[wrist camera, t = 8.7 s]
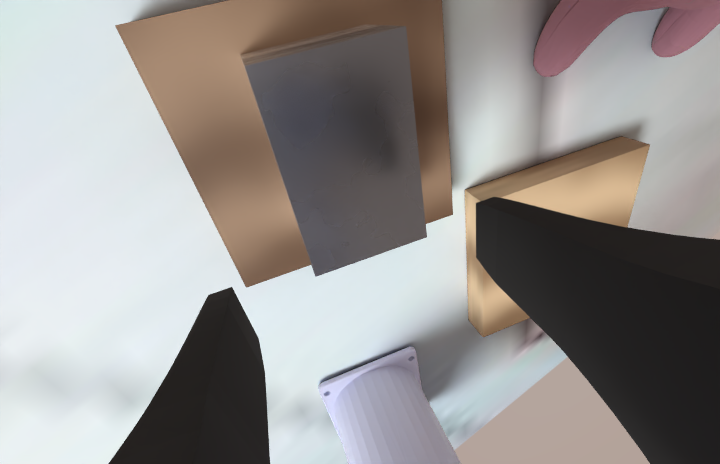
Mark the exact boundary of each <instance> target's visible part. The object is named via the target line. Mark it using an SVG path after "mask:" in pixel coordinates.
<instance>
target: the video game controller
mask: <svg viewBox="0 0 720 464" xmlns="http://www.w3.org/2000/svg"><path fill="white" fill-rule="evenodd" d="M663 7H670V8H669V9H668V11H667V12H666V14H665V15H664V17H663V18H662V20H661V22H660V24H659V26H658V28H657V30H656V32H655V34H654V37H653V40H652V50H653V52H654V53H655V54H656V55H657V56H660V57H672V56H675V55H678V54H680V53H682V52H684V51H686V50H688V49H689V48H691V47H692V46H694V45H695V44H696V43H698V42H699V41H700V40H701V39H702V38H704V37H705V36H706V35H707V34H708V33H709V32H710V31H711V30H712V29H714V28H715V27H716V26H717V25H718V24H719V23H720V0H561V1H560V3H559V4H558V5H557V7H556V8H555V10H554V11H553V13H552V14H551V16H550V18H549V20H548V21H547V23H546V25H545V27H544V29H543V31H542V33H541V35H540V37H539V40H538V42H537V45H536V48H535V51H534V63H533V65H534V67H535V69H536V71H537V72H538V73H539V74H540V75H542V76H544V77H550V76H556V75H558V74H559V73H561V72H562V71H564V70H565V69H567V68H568V67H569V66H570V65H571V64H572V63H573V62H574V61H575V60H576V59H577V58H578V57H579V55H580V54H581V53H582V52H583V51H584V50H585V49H586V48H587V47H588V45H589V44H590V43H591V42H592V41H593V40H594V39H595V38H596V37H597V36H598V35H599V34H600V33H601V32H602V31H603V30H604V29H605V28H606V27H607V26H608V25H610V24H611V23H612V22H613V21H615V20H616V19H617V18H619V17H620V16H622V15H624V14H627V13H631V12H637V11H645V10H652V9H658V8H663Z"/></svg>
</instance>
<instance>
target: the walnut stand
mask: <svg viewBox="0 0 720 464" xmlns="http://www.w3.org/2000/svg"><path fill="white" fill-rule="evenodd" d="M364 24H366V25H391V26H406V30H407V40H408V50H409V60H410V71H411V81H412V91H413V101H414V111H415V122H416V132H417V142H418V152H419V162H420V173H421V183H422V193H423V203H424V213H425V224H427V223H430V222H433V221H436V220H439V219H441V218H444V217H447V216H450V215H453V207H452V187H451V168H450V149H449V129H448V110H447V91H446V71H445V52H444V33H443V13H442V0H228V1H223V2H219V3H214V4H210V5H205V6H201V7H196V8H192V9H187V10H183V11H178V12H174V13H169V14H165V15H160V16H156V17H151V18H147V19H142V20H138V21H133V22H129V23H124V24H120V25H115V26H116V28H117V30H118V32H119V34H120V36H121V38H122V40H123V42H124V44H125V46H126V48H127V50H128V52H129V54H130V56H131V58H132V60H133V62H134V64H135V66H136V68H137V70H138V72H139V74H140V76H141V78H142V80H143V82H144V84H145V86H146V88H147V90H148V92H149V94H150V96H151V98H152V100H153V102H154V104H155V106H156V108H157V110H158V112H159V114H160V116H161V118H162V120H163V122H164V124H165V126H166V128H167V130H168V132H169V134H170V136H171V138H172V140H173V142H174V144H175V146H176V148H177V150H178V152H179V154H180V156H181V158H182V160H183V162H184V164H185V166H186V168H187V170H188V172H189V174H190V176H191V178H192V180H193V182H194V184H195V186H196V188H197V190H198V192H199V194H200V196H201V198H202V200H203V202H204V204H205V206H206V208H207V210H208V212H209V214H210V216H211V218H212V220H213V222H214V224H215V226H216V228H217V230H218V232H219V234H220V236H221V238H222V240H223V242H224V244H225V246H226V248H227V250H228V252H229V254H230V256H231V258H232V260H233V262H234V264H235V266H236V268H237V270H238V272H239V274H240V276H241V278H242V280H243V282H244V284H245V286H246V288H247V287H249V286H252V285H255V284H258V283H261V282H263V281H266V280H269V279H272V278H275V277H278V276H280V275H283V274H286V273H289V272H292V271H295V270H297V269H300V268H303V267H306V266H309V265H311V262H310V259H309V256H308V253H307V250H306V248H305V245H304V242H303V239H302V236H301V233H300V230H299V228H298V225H297V222H296V219H295V216H294V213H293V210H292V207H291V204H290V201H289V198H288V195H287V192H286V189H285V186H284V183H283V180H282V177H281V174H280V171H279V168H278V165H277V163H276V160H275V157H274V154H273V151H272V148H271V145H270V142H269V139H268V136H267V133H266V130H265V127H264V124H263V121H262V118H261V115H260V112H259V109H258V106H257V103H256V100H255V97H254V95H253V92H252V89H251V86H250V83H249V80H248V77H247V74H246V71H245V68H244V65H243V62H242V59H241V56H240V54H244V53H249V52H253V51H257V50H261V49H265V48H269V47H273V46H278V45H282V44H286V43H290V42H294V41H298V40H302V39H306V38H311V37H315V36H319V35H323V34H327V33H331V32H335V31H340V30H344V29H348V28H352V27H356V26H360V25H364Z"/></svg>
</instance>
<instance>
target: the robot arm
mask: <svg viewBox="0 0 720 464" xmlns="http://www.w3.org/2000/svg"><path fill="white" fill-rule="evenodd" d="M476 258H477V260H478V261H479V262H480V264H481V265H482V266H483V268H484V269H485V270H486V272H487V273H488V274H489V276H490V277H491V278H492V279H493V281H494V282H495V283H496V284H497V285H498V286H499V287H500V288H501V289H502V290H503V291H504V292H505V293H506V294H507V295H508V296H509V297H510V298H511V299H512V300H513V301H514V302H515V303H516V304H517V305H518V306H519V307H520V308H521V309H522V310H523V311H524V312H525V313H526V314H527V315H528V316H529V317H530V318H531V319H532V320H533V321H534V322H535V323H536V324H537V325H538V326H539V327H540V328H541V329H542V330H543V331H544V332H546V333H547V334H548V335H549V336H550V337H551V338H552V340H553V341H554V342H555V343H556V344H557V345H558V346H559V347H560V348H561V349H562V350H563V351H564V353H565V354H566V355H567V356H568V357H569V359H570V360H571V361H572V362H573V363H574V364H575V366H576V367H577V368H578V369H579V370H580V372H581V373H582V374H583V375H584V376H585V378H586V379H587V380H588V381H589V383H590V384H591V385H592V386H593V388H594V389H595V390H596V391H597V393H598V394H599V395H600V396H601V398H602V399H603V400H604V402H605V403H606V404H607V405H608V407H609V408H610V409H611V410H612V412H613V413H614V414H615V416H616V417H617V418H618V420H619V421H620V422H621V424H622V425H623V426H624V428H625V429H626V430H627V432H628V433H629V435H630V436H631V437H632V439H633V440H634V441H635V443H636V444H637V445H638V447H639V448H640V450H641V451H642V452H643V454H644V455H645V456H646V458H647V460H648V461H649V462H650V464H720V240H716V239H705V238H695V237H687V236H679V235H671V234H665V233H658V232H651V231H645V230H638V229H633V228H627V227H622V226H617V225H612V224H608V223H603V222H598V221H593V220H589V219H585V218H580V217H576V216H572V215H568V214H564V213H560V212H556V211H552V210H549V209H545V208H541V207H537V206H533V205H529V204H525V203H521V202H517V201H513V200H509V199H504V198H499V197H492V198H489V199H486V200H483V201H480V202H477V203H476ZM318 389H319V393H320V395H321V397H322V400H323V402H324V404H325V406H326V409H327V411H328V413H329V415H330V418H331V420H332V422H333V424H334V427H335V429H336V431H337V433H338V436H339V438H340V440H341V442H342V445H343V447H344V450H345V454H346V457H347V461H348V464H461V462H460V460H459V459H458V457H457V455H456V453H455V451H454V449H453V447H452V445H451V443H450V441H449V440H448V438H447V436H446V434H445V432H444V430H443V428H442V426H441V425H440V423H439V421H438V419H437V417H436V415H435V413H434V411H433V409H432V408H431V406H430V404H429V402H428V400H427V398H426V396H425V394H424V392H423V391H422V385H421V379H420V373H419V367H418V361H417V354H416V351H415V349H414V347H407V348H405V349H402V350H400V351H397V352H395V353H393V354H390V355H388V356H385V357H383V358H380V359H378V360H376V361H373V362H371V363H368V364H366V365H363V366H361V367H358V368H356V369H354V370H351V371H349V372H346V373H344V374H341V375H339V376H337V377H334V378H332V379H329V380H327V381H324V382H322V383H321V384H320V385H319V386H318ZM109 464H270V457H269V438H268V419H267V400H266V383H265V371H264V365H263V360H262V354H261V349H260V344H259V339H258V337H257V335H256V333H255V331H254V329H253V327H252V325H251V323H250V321H249V319H248V317H247V315H246V313H245V312H244V310H243V308H242V306H241V304H240V302H239V300H238V298H237V296H236V294H235V292H234V290H233V288H232V287H231V288H228V289H225V290H222V291H219V292H216V293H213V294H210V295H208V297H207V299H206V301H205V303H204V305H203V306H202V308H201V310H200V312H199V314H198V316H197V319H196V321H195V323H194V325H193V327H192V329H191V331H190V332H189V334H188V336H187V338H186V340H185V342H184V344H183V346H182V348H181V350H180V352H179V354H178V355H177V357H176V359H175V361H174V363H173V365H172V367H171V368H170V370H169V372H168V374H167V375H166V377H165V379H164V380H163V382H162V384H161V386H160V387H159V389H158V391H157V392H156V394H155V396H154V397H153V399H152V401H151V402H150V404H149V406H148V407H147V409H146V410H145V412H144V414H143V415H142V417H141V418H140V420H139V421H138V423H137V424H136V426H135V427H134V429H133V430H132V431H131V433H130V434H129V436H128V437H127V439H126V440H125V441H124V443H123V444H122V446H121V447H120V449H119V450H118V451H117V453H116V454H115V456H114V457H113V458H112V460H111V461H110V462H109Z"/></svg>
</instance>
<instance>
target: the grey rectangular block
mask: <svg viewBox="0 0 720 464" xmlns="http://www.w3.org/2000/svg"><path fill="white" fill-rule="evenodd" d="M240 56H241V59H242V62H243V65H244V68H245V71H246V74H247V77H248V80H249V83H250V86H251V89H252V92H253V95H254V97H255V100H256V103H257V106H258V109H259V112H260V115H261V118H262V121H263V124H264V127H265V130H266V133H267V136H268V139H269V142H270V145H271V148H272V151H273V154H274V157H275V160H276V163H277V165H278V168H279V171H280V174H281V177H282V180H283V183H284V186H285V189H286V192H287V195H288V198H289V201H290V204H291V207H292V210H293V213H294V216H295V219H296V222H297V225H298V228H299V230H300V233H301V236H302V239H303V242H304V245H305V248H306V250H307V253H308V256H309V259H310V262H311V265H312V268H313V270H314V273H315V276H319V275H322V274H324V273H327V272H330V271H333V270H336V269H338V268H341V267H344V266H347V265H350V264H353V263H355V262H358V261H361V260H364V259H367V258H369V257H372V256H375V255H378V254H381V253H383V252H386V251H389V250H392V249H395V248H397V247H400V246H403V245H406V244H409V243H412V242H414V241H417V240H420V239H423V238H426V237H427V234H426V224H425V213H424V203H423V193H422V183H421V173H420V162H419V152H418V142H417V132H416V122H415V111H414V101H413V91H412V81H411V71H410V60H409V50H408V40H407V30H406V26H391V25H366V24H364V25H360V26H356V27H352V28H348V29H344V30H340V31H335V32H331V33H327V34H323V35H319V36H315V37H311V38H306V39H302V40H298V41H294V42H290V43H286V44H282V45H278V46H273V47H269V48H265V49H261V50H257V51H253V52H249V53H244V54H240Z"/></svg>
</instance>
